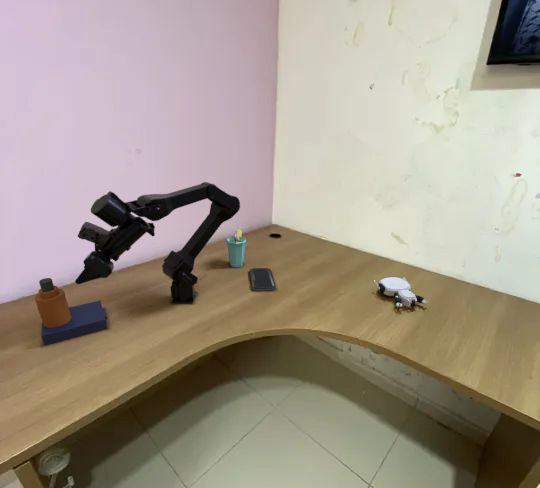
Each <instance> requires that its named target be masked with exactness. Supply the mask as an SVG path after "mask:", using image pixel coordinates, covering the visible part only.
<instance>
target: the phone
mask: <svg viewBox="0 0 540 488" xmlns="http://www.w3.org/2000/svg"><path fill="white" fill-rule="evenodd" d="M249 275H250V280H251V287H252V290H253V291H255V292H256V291H257V292H258V291H260V292H261V291H262V292H263V291H275V290H276V283H275V280H274V277H273V273H272V270H271V268H270V267H255V268H254V267H253V268H250V269H249Z"/></svg>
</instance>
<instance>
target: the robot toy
mask: <svg viewBox="0 0 540 488" xmlns="http://www.w3.org/2000/svg"><path fill="white" fill-rule="evenodd" d="M373 282H374V284H375V285H376V287H377V289H378V290H379V291H380V292H381V293H382V294H383V295H385V296H387V297H394V305H395V306H396V307H397V308H402V307H406V308H414V307H416V305H417V303H419V304H423V305H427V304H428V303H429V301H427V300H426V299H425V298H424V297H423V296H421V295H419V294H417V295H416V294H415V293H413V292H412V290H411V289H412V285H411V284H410V283H409V282H408V280H407V279H406V277H404V276H403V278H402V277H385V278H382V279H380V280H379V281H378V283H377V281H376V280H375V279H373Z"/></svg>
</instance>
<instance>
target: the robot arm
mask: <svg viewBox="0 0 540 488" xmlns="http://www.w3.org/2000/svg"><path fill="white" fill-rule="evenodd" d="M204 200H208V201H210V202H211V204H210V207H209V213H208V215H207V216H206V217H205V218H204V220H203V221H202V222H201V224H200V225H199V226H198V228H197V229H196V230H195V231H194V233H193V234H192V235H191V237H190V238H189V239H188V240H187V241H186V243H185V244H184V246H183V247H182V248H181V249H180V250H178V251H174V250H171V251H170V252H169V253H168V254H167V257H166V258H164V259H163V260H162V261H163V263H162V266H161V269H162V273H163V274H164V275H165V276H166V277H167V278H169V279H170V280H171V285H170V287H169V288H170V289H169V290H170V297H171V299H172V300H171V303H172V304H193V303H194V301H195V299H196V296H197V291H196V289H195V285H196V284H197V283H198V280H199V277H198V276H196V275H195V274H193V273H192V272H193V270H194V265H195V260H196V259H197V257H198V256H199V254H200V253H201V251H203V249H204V248H205V247H206V245H208V242H209V241H210V240H211V239H212V237H213V236H214V235H215V233H216V232H217V231H218V229H219V228H220V226H222V224H224V223H225V222H227V221H229V220H232V218H234V216H235V215H236V214H237V213H238V212H239V211H240V209H241V201H240V198H239V197H237V196H235V195H231V194H229V193H227V192H226V191H224V190H222V189H221V188H219V187H218V186H217V185H216V184H214V183H211V182H208V181H203V182H201V183H199V184H196V185H193V186H189V187H186V188H183V189H178V190H175V191H172V192H169V193H149V194H142V195H140V196H138V197H137V199H135V200H130V201H126V202H124V201H123V200H122V199H121V198H120V197H119V196H118V195H117V194H116V193H115V192H113V191H111V190H109V191H108V192H107V193H105V194H103V195H102V196H101V197H99V198H97V199H96V200H95V201H94V202H93V204H92V205H91V208H90V213H91V214H92V215H94V216H95V217H97V218H98V219H99V220H101V221H102V222H104V223H105V224H107V225H108V226H110V227H111V229H110V230H107V229H105V228H103V227H101V226H99V225H97V224H94V223H92V222H89V221H84V223H83V224H82V225H81V228H80V229H79V231H78V234H77V238H78V239H81V240H85V241H88V242H90V243H93V244H94V250H91V252H90V253H89V254H88V255H87V256H85V258H84V259H83V265H84V266H83V270H82V271H81V272H80V274H79V275H78V276H77V278H76V279H75V280H74V283H75V284H77V285H81V284H85V283H87V282H88V283H89V282H91V281H94V280H98V279H107V278H109V276H110V275H111V274H113V271H114V269H115V265H114V262H116V263H117V262H118V261H119V260H120V257H121V256H122V255H123V254H124V253H125V252H128V251H130V250H131V248H132V246H133V245H134V244H135V243H137V241H139V240H140V239H141V238H142V237H143V236H144V235H146V233H147V234H148V235H150V236H151V237H155V236H156V235H155V228H156V226H155V224H154V222H158V221H160V220H161V219H164V218H166V217H167V216H169V215H171V213H172V212H173V211H175V210H177V209H180V208H182V207H185V206H188V205H192V204H195V203H197V202H201V201H204ZM133 214H134V215H133ZM135 215H136V216H135ZM143 218H145V219H147V220H149V221H151V222H147V221H146V220H145V219H143ZM113 261H114V262H113Z"/></svg>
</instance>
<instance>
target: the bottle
mask: <svg viewBox="0 0 540 488" xmlns="http://www.w3.org/2000/svg"><path fill="white" fill-rule="evenodd" d="M38 283H39V287H40V288H39V289H38V293H36V294H35V296H34V301H35V303H36V307H37V310H38V313H39V316H40V319H41V323H42V322H43V325H44V326H45V327H47V328H55V327H59V326H62V325H65V324H66V323H68V322H69V321H70V320H71V314H70V310H69V304H68V300H67V295H66V293H65V290H64V289H62V288H59V287H58V286H57V285H54V283H53V279H52V278H51V277H45V278H42V279H39V281H38Z"/></svg>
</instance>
